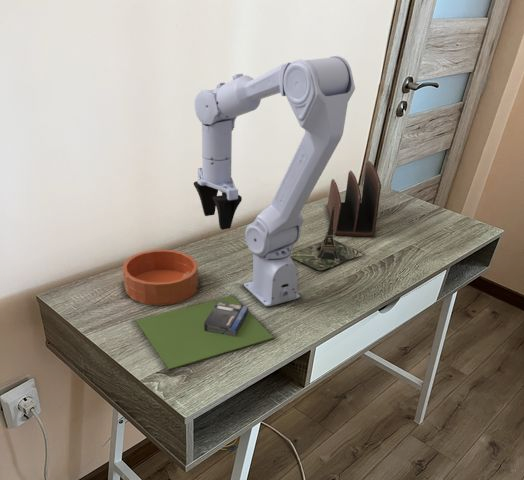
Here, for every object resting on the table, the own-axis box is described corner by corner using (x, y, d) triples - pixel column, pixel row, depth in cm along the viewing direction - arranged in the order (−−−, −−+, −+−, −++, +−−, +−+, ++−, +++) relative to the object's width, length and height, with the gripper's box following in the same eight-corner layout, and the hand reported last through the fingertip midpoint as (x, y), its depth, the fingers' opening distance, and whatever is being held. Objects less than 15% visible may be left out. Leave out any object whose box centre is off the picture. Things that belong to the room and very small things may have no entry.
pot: (209, 294, 106) (209, 274, 103) (139, 312, 100) (137, 290, 97) (181, 263, 116) (180, 244, 113) (115, 277, 110) (113, 257, 107)
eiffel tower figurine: (330, 239, 130) (338, 186, 122) (363, 254, 124) (373, 199, 116) (287, 257, 121) (292, 200, 113) (320, 273, 115) (327, 215, 107)
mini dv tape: (218, 300, 101) (248, 306, 100) (218, 307, 102) (248, 313, 101) (203, 323, 94) (235, 329, 93) (203, 330, 95) (235, 336, 94)
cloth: (273, 338, 95) (273, 337, 95) (169, 370, 86) (169, 368, 86) (232, 297, 106) (232, 295, 106) (135, 321, 97) (135, 320, 97)
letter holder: (362, 207, 148) (371, 156, 139) (374, 237, 132) (384, 181, 123) (327, 205, 147) (333, 154, 139) (334, 235, 132) (342, 179, 123)
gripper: (183, 148, 107) (185, 212, 115) (214, 169, 97) (215, 238, 105) (214, 144, 110) (215, 207, 118) (248, 165, 100) (246, 232, 108)
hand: (217, 221), depth 112 cm, fingers open, 7 cm apart
